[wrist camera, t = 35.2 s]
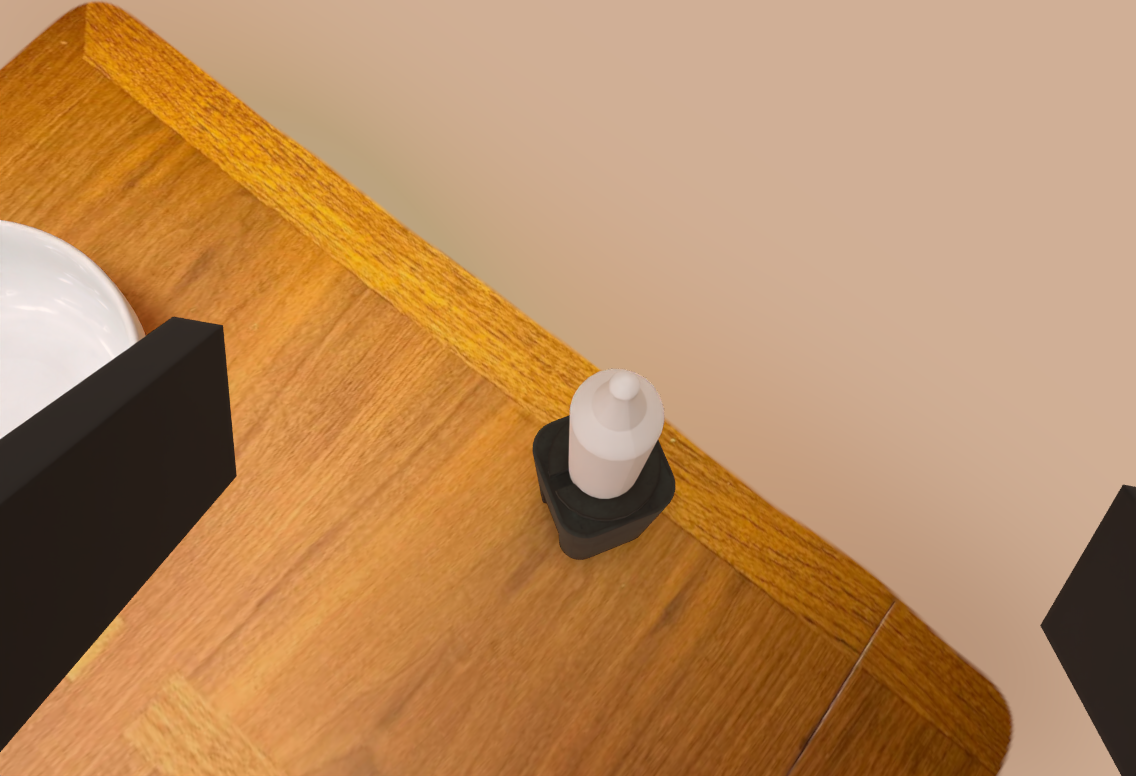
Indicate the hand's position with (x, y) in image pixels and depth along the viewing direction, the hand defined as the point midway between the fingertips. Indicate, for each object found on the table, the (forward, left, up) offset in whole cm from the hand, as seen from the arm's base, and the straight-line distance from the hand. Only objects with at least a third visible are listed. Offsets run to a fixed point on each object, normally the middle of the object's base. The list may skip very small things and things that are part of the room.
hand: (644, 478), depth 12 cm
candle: (+2, -3, -33) cm, 34 cm away
